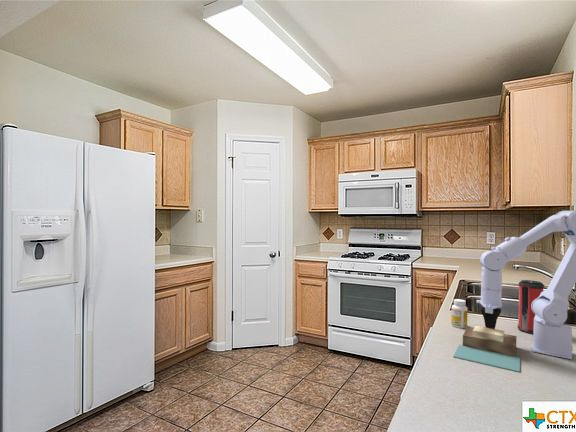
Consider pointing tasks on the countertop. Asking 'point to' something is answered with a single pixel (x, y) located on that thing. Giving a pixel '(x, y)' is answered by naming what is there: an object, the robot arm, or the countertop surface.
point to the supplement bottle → (459, 314)
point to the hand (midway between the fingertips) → (490, 330)
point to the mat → (488, 358)
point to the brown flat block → (490, 343)
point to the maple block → (488, 334)
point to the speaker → (528, 304)
